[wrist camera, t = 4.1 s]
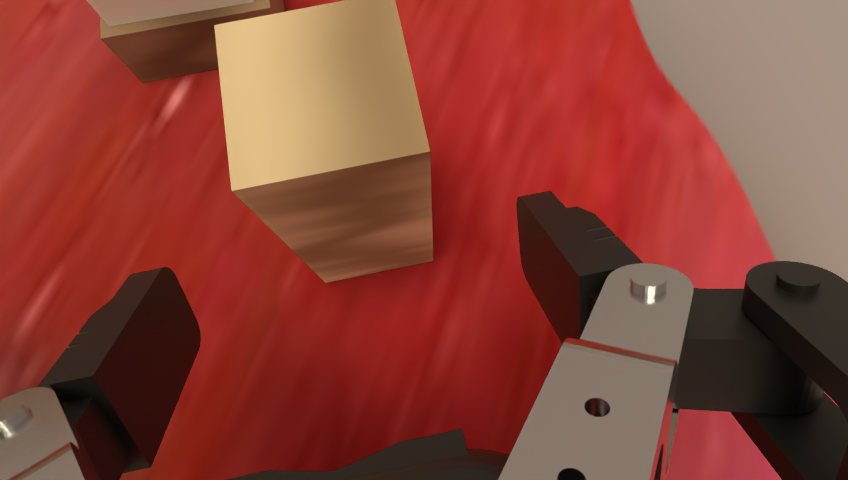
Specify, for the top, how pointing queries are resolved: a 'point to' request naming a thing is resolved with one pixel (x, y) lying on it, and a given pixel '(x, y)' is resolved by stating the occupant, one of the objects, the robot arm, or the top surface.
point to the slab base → (177, 40)
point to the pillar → (329, 135)
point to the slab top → (153, 8)
